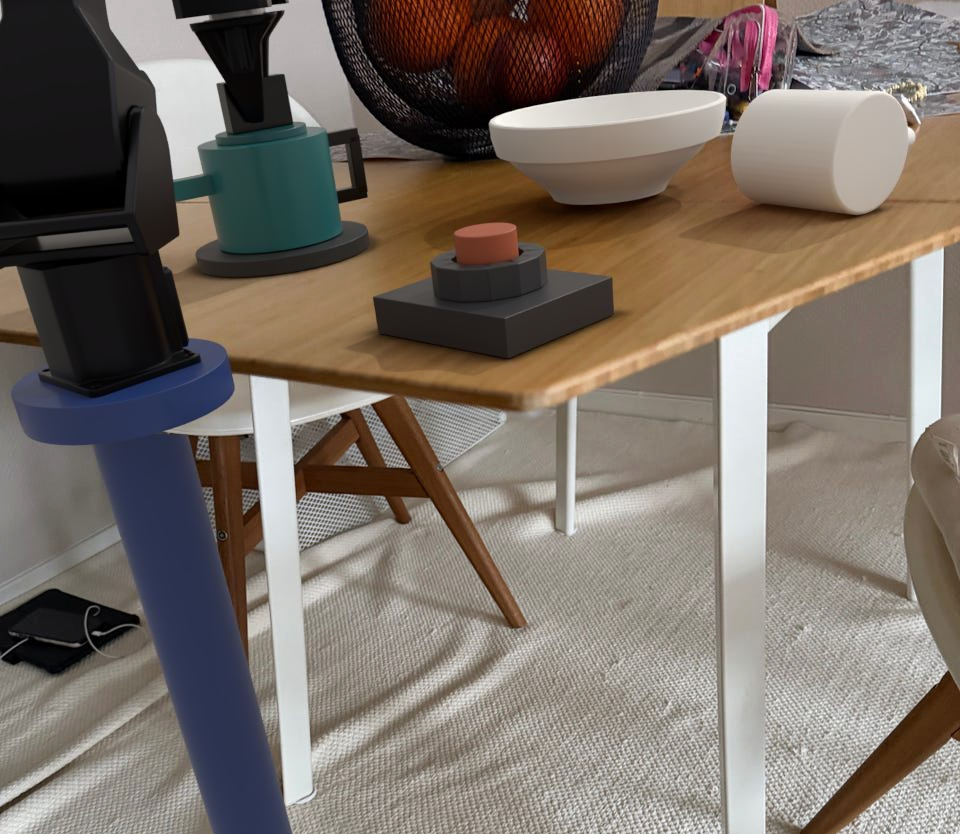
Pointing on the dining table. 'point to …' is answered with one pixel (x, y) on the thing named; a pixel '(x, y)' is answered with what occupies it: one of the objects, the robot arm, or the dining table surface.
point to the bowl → (608, 142)
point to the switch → (486, 243)
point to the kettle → (273, 176)
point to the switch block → (494, 304)
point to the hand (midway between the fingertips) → (259, 120)
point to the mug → (821, 149)
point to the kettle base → (283, 255)
